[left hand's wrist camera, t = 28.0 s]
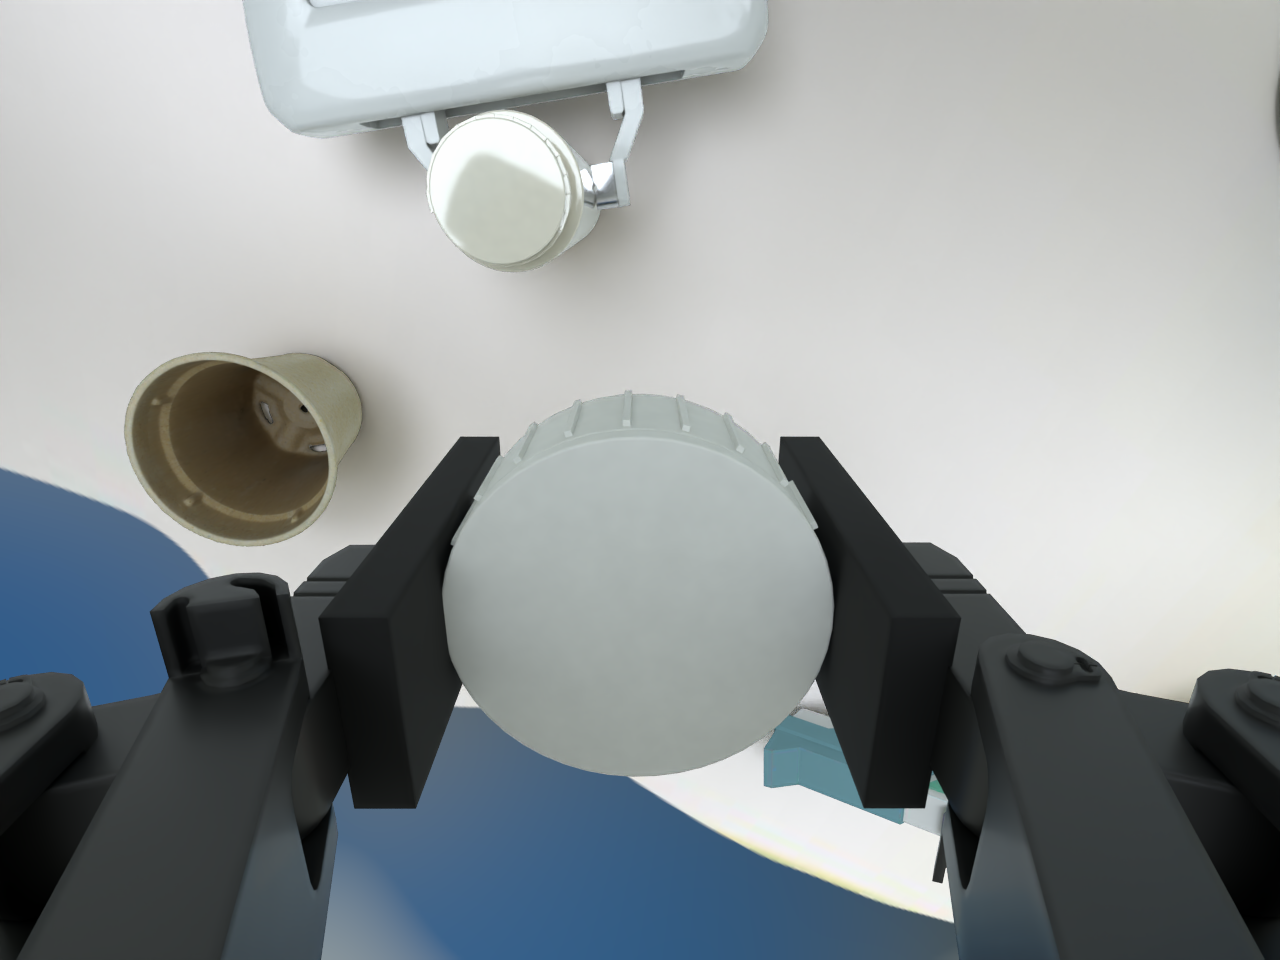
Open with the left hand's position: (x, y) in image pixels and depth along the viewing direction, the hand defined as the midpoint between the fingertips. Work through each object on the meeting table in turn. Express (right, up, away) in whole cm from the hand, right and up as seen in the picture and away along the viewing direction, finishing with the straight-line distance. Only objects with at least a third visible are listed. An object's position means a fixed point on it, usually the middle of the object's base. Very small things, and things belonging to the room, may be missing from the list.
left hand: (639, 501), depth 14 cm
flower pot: (-19, +5, +26) cm, 33 cm away
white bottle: (-4, +15, +23) cm, 28 cm away
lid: (0, -1, -4) cm, 4 cm away
